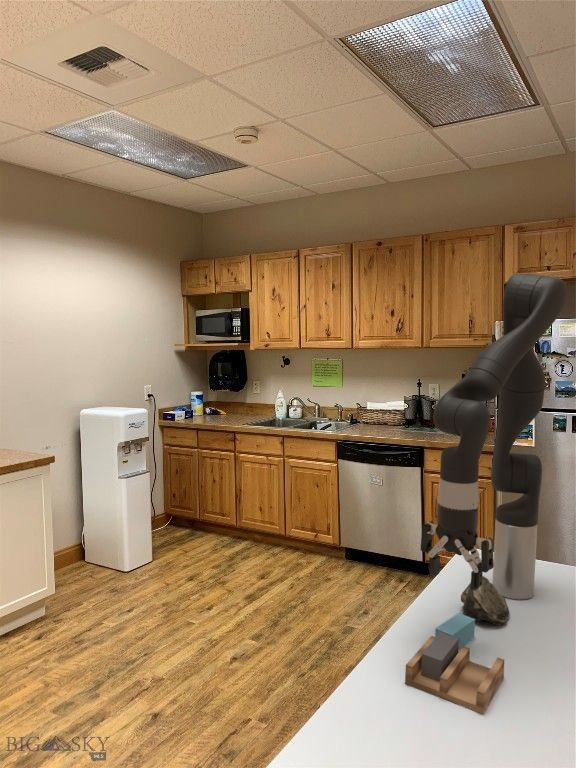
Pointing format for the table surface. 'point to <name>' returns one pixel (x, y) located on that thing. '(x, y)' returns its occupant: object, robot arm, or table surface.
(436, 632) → the tall teal pillar
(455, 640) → the dark gray block
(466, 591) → the brown rock
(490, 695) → the block
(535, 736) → the table surface
